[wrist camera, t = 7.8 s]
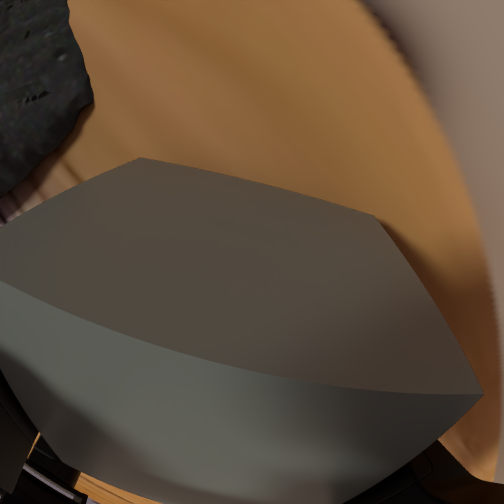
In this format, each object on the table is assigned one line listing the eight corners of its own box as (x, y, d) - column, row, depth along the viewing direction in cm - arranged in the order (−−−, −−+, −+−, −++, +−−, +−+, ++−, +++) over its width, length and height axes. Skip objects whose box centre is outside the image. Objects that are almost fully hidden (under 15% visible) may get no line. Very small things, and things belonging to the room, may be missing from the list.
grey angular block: (300, 375, 12) (297, 524, 6) (132, 332, 12) (63, 462, 6) (374, 215, 9) (484, 393, 3) (140, 157, 9) (-43, 255, 3)
